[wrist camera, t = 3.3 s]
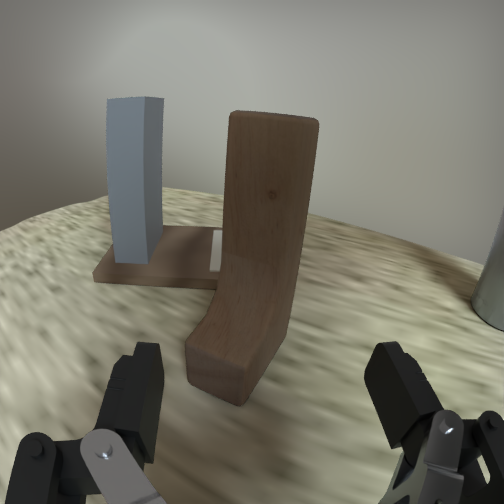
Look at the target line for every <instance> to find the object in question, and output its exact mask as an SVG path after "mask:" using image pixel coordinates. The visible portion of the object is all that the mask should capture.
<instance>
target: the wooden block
mask: <svg viewBox="0 0 504 504" xmlns="http://www.w3.org/2000/svg"><path fill="white" fill-rule="evenodd" d="M318 132H319V122H318V120H316V119H315V118H310V117H303V116H295V115H287V114H277V113H268V112H256V111H240V110H236V111H233V112H231V113H230V116H229V126H228V141H227V155H226V171H225V172H226V173H225V189H224V190H225V191H224V207H223V228H222V250H221V266H220V272H219V278H218V284H217V289H216V292H215V294H214V297H213V299H212V302H211V304H210V307H209V309H208V311H207V314H206V316H205V317H204V318H203V319H202V321H201V322H200V323H199V324H198V326H197V327H196V328H195V329H194V331H193V332H192V333H191V334H190V336H189V337H188V338H187V340H186V342H185V354H186V365H187V375H188V382H189V383H190V384H191V385H193V386H195V387H197V388H199V389H201V390H203V391H205V392H207V393H210V394H212V395H214V396H216V397H218V398H220V399H223V400H225V401H227V402H229V403H232V404H234V405H236V406H241V405H243V404H244V403H245V401H246V400H247V398H248V397H249V395H250V394H251V392H252V391H253V389H254V387H255V386H256V384H257V383H258V381H259V379H260V378H261V376H262V375H263V373H264V371H265V370H266V368H267V366H268V365H269V363H270V361H271V360H272V358H273V356H274V355H275V353H276V351H277V350H278V348H279V346H280V345H281V343H282V341H283V340H284V338H285V336H286V333H287V328H288V323H289V318H290V313H291V308H292V303H293V297H294V292H295V286H296V281H297V275H298V269H299V263H300V257H301V251H302V245H303V239H304V233H305V226H306V220H307V213H308V207H309V200H310V193H311V186H312V179H313V171H314V164H315V157H316V149H317V141H318Z"/></svg>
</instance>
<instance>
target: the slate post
mask: <svg viewBox="0 0 504 504" xmlns="http://www.w3.org/2000/svg"><path fill="white" fill-rule="evenodd" d="M163 106H164V98H155V97H130V98H129V97H128V98H115V99H107V118H106V120H107V122H106V147H107V177H108V195H109V209H110V220H111V230H112V239H113V248H114V255H115V263H133V264H149V261H150V259H151V257H152V255H153V253H154V250H155V248H156V246H157V244H158V242H159V240H160V238H161V235H162V233H163V219H162V133H163V108H164V107H163Z"/></svg>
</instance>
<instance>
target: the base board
mask: <svg viewBox="0 0 504 504" xmlns="http://www.w3.org/2000/svg"><path fill="white" fill-rule="evenodd" d="M221 250H222V228H219V227H194V226H166V225H163V233H162V235H161V238H160V240H159V242H158V244H157V246H156V248H155V250H154V253H153V255H152V257H151V259H150V261H149V264H133V263H115V255H114V248H113V244H112V246H111V247H110V249H109V250H108V251H107V253H106V254H105V255H104V257H103V258H102V260H101V261H100V263H99V264H98V265H97V267H96V268H95V270H94V271H93V278H94V282H101V283H115V284H129V285H145V286H162V287H180V288H202V289H217V284H218V278H219V272H220V266H221Z"/></svg>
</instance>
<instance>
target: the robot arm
mask: <svg viewBox="0 0 504 504" xmlns="http://www.w3.org/2000/svg"><path fill="white" fill-rule="evenodd" d="M471 304H472V306H473V308H474V310H475V311H476V312H477V314H478V315H479V316H480V317H481V318H482V319H484V320H485V321H486V322H487V323H489V324H491V325H492V326H494V327H496V328H498V329H500V330H503V331H504V208H503V212H502V215H501V219H500V222H499V225H498V228H497V232H496V235H495V238H494V241H493V244H492V247H491V250H490V252H489V255H488V258H487V261H486V263H485V266H484V268H483V271H482V273H481V276H480V279H479V281H478V283H477V286H476V288H475V290H474V293H473V295H472V297H471ZM364 380H365V384H366V387H367V389H368V392H369V394H370V396H371V399H372V401H373V404H374V406H375V409H376V411H377V414H378V416H379V419H380V421H381V424H382V426H383V429H384V432H385V434H386V437H387V439H388V442H389V445H390V447H391V449H394V448H398V447H402V448H403V452H402V453H401V455H400V458H399V460H398V463H397V466H396V469H395V471H394V474H393V477H392V479H391V482H390V484H389V487H388V489H387V492H386V493H385V495H384V496H383V498H382V499H381V500H380V502H379V503H378V504H504V420H503V419H502V417H501V416H500V415H499V414H498V413H496V412H494V411H485V412H484V413H482V414H481V416H480V417H479V418H478V419H461V418H460V416H459V415H458V414H456V413H455V412H453V411H451V410H444V408H443V407H442V405H441V403H440V401H439V399H438V398H437V396H436V394H435V392H434V390H433V389H432V387H431V385H430V383H429V382H428V381H427V378H426V376H425V375H424V373H422V369H421V368H420V366H419V364H418V363H417V361H416V360H415V359H414V358H413V357H411V356H410V355H409V354H408V353H404V351H403V350H402V348H401V346H400V345H399V343H398V342H396V341H393V342H383V343H378V344H377V345H376V347H375V349H374V351H373V353H372V356H371V358H370V360H369V362H368V364H367V367H366V369H365V373H364ZM163 389H164V369H163V363H162V358H161V351H160V346H159V344H158V343H146V342H137V344H136V347H135V351H134V354H133V356H128V355H123V356H122V357H121V358H120V359H119V360H118V361H117V362H116V363H115V365H114V367H113V370H112V373H111V376H110V379H109V382H108V385H107V389H106V392H105V395H104V399H103V402H102V405H101V409H100V412H99V416H98V419H97V423H96V425H95V427H94V429H93V430H92V431H91V432H89V433H88V434H86V435H85V436H84V438H81V439H78V440H69V441H53V440H52V439H51V438H50V437H49V436H47V435H46V434H43V433H40V432H34V433H30V434H28V435H26V436H25V437H24V438H23V439H22V440H21V442H20V444H19V447H18V450H17V454H16V457H15V461H14V465H13V469H12V473H11V477H10V481H9V485H8V490H7V495H6V500H5V504H86V495H91V494H102V495H103V496H104V498H105V500H106V501H107V503H108V504H167V503H166V502H165V501H164V499H163V498H162V497H161V496H160V494H159V493H158V492H157V491H156V490H155V488H154V487H153V485H152V484H151V483H150V481H149V480H148V478H147V477H146V476H145V474H144V473H143V470H144V463H151V464H153V461H154V453H155V445H156V437H157V430H158V422H159V415H160V409H161V402H162V395H163ZM481 455H482V456H483V458H484V461H485V463H486V466H487V468H488V471H489V473H490V481H489V483H488V484H487V483H486V481H485V478H484V476H483V473H482V471H481V468H480V466H479V463H478V461H477V458H479V457H480V456H481Z"/></svg>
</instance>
